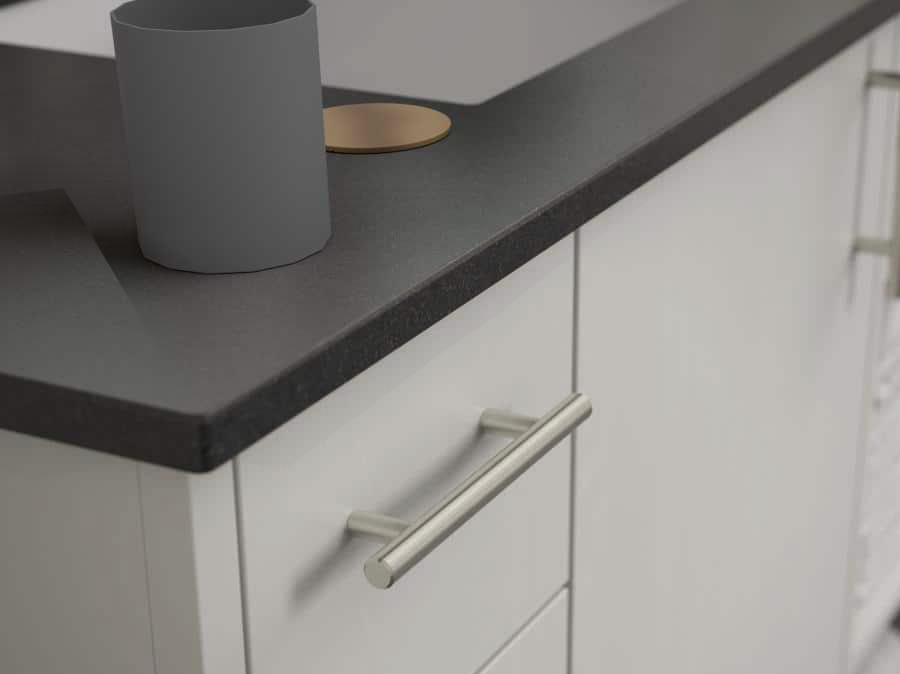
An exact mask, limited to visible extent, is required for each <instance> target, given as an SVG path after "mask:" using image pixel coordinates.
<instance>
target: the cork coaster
mask: <svg viewBox="0 0 900 674" xmlns="http://www.w3.org/2000/svg"><path fill="white" fill-rule="evenodd" d="M323 118H324V133H325V148H326V150H327V151H326V152H331V151H334V152H333V153H342V152H343V153H344V154H379V153H380V154H381V153H390V152H399V151H405V150H412V149H415V148H420V147H424V146H427V145H430V144H434V143H436V142H438V141H440V140H442V139H444V138H445V137H447V136H448V135H449V134H450V133H451V129H452V121H451V119H450V117H448V116H447V115H446V114H444V113H443V112H441V111H439V110H436V109H432V108H429V107H425V106H420V105H414V104H405V103H392V102H391V103H390V102H385V103H384V102H369V103H366V102H365V103H354V104H353V103H352V104H344V105H336V106H331V107H326V108H323ZM343 153H342V154H343Z"/></svg>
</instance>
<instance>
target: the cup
mask: <svg viewBox="0 0 900 674" xmlns="http://www.w3.org/2000/svg"><path fill="white" fill-rule="evenodd" d="M109 17H110V26H111V34H112V40H113V50H114V57H115V65H116V66H115V67H116V72H117V73H116V74H117V80H118V88H119V89H118V90H119V97H120V104H121V112H122V114H121V115H122V120H123V121H122V122H123V129H124V137H125V144H126V151H127V152H126V153H127V159H128V161H127V162H128V167H129V169H128V170H129V177H130V184H131V185H130V186H131V191H132V192H131V193H132V199H133V208H134V215H135V224H136V232H137V239H138V245H139V247H140V248H139V249H140V250H141V252H142V255H143V257H144V259H147V260H149V261H150V262H154V263H156V264H158V265H160V266H162V267H165V268H167V269H170V270H177V271H186V272H194V273H200V274H201V273H202V274H226V273H227V274H229V273H245V272H246V273H248V272H256V271H262V270H266V269H272V268H275V267H280V266H285V265H286V266H287V265H291V264H295V263H297V262H299V261H301V260H303V259H305V258H308V257H310V256H312V255H314V254H316V253H318V252H320V251H322V250H323V249H324V247H325V246H326V244H327V243H328V241H329V239H330V237H332V225H331V210H330V209H331V208H330V195H329V194H330V193H329V180H328V179H329V178H328V165H327V151H326V148H325V133H324V118H323V109H324V105H323V90H322V76H321V73H322V72H321V60H320V45H319V43H320V42H319V31H318V16H317V4H316V3H314V2H313V1H312V0H130V1H125V2H123V3H122V4H120V5H119V6H117V7H115V8H114V9H112V10H111V11H109Z"/></svg>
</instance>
